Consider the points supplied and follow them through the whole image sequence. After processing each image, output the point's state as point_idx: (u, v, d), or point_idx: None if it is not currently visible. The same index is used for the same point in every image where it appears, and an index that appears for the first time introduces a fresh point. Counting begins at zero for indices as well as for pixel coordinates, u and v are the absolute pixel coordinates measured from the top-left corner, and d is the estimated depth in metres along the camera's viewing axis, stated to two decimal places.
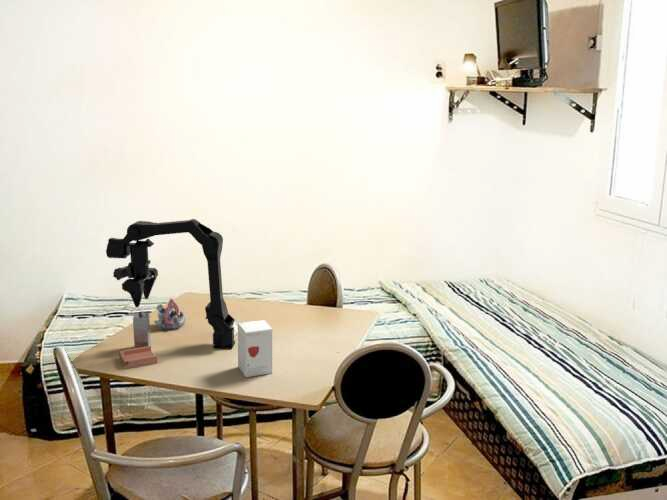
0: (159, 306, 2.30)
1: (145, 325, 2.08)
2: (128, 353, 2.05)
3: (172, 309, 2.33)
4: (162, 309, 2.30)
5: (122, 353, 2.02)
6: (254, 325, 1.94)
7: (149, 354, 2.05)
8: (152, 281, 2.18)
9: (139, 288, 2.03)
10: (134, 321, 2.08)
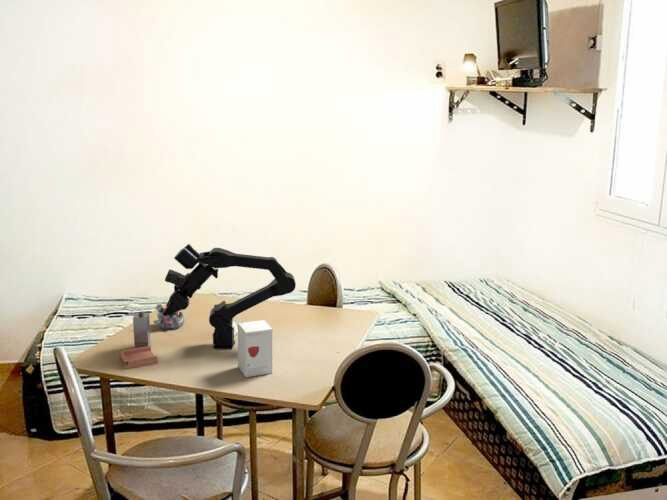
0: (158, 306, 2.30)
1: (145, 325, 2.08)
2: (128, 353, 2.05)
3: None
4: (161, 309, 2.31)
5: (122, 353, 2.02)
6: (254, 325, 1.94)
7: (149, 354, 2.05)
8: None
9: (185, 308, 2.02)
10: (134, 321, 2.08)
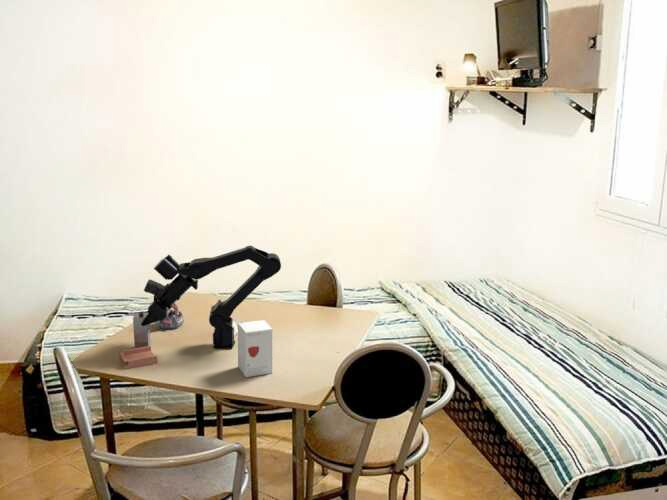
0: None
1: None
2: (128, 353, 2.05)
3: (171, 309, 2.34)
4: None
5: (122, 353, 2.02)
6: (254, 325, 1.94)
7: (149, 354, 2.05)
8: None
9: (163, 318, 2.02)
10: (134, 321, 2.08)
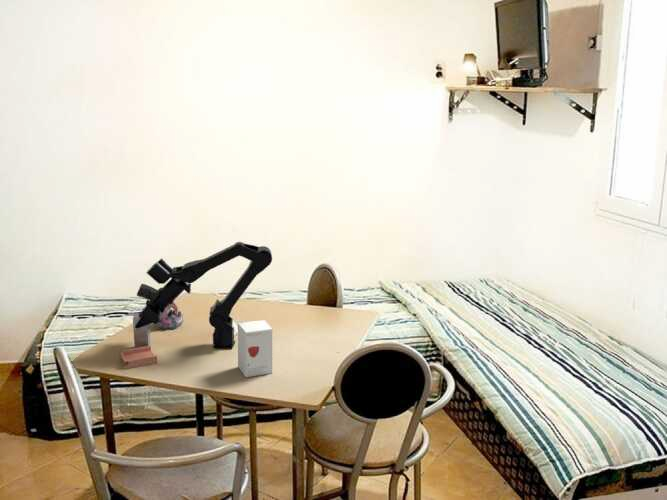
0: None
1: None
2: (128, 353, 2.05)
3: None
4: None
5: (122, 353, 2.02)
6: (254, 325, 1.94)
7: (149, 354, 2.05)
8: None
9: (156, 323, 2.02)
10: (134, 321, 2.08)
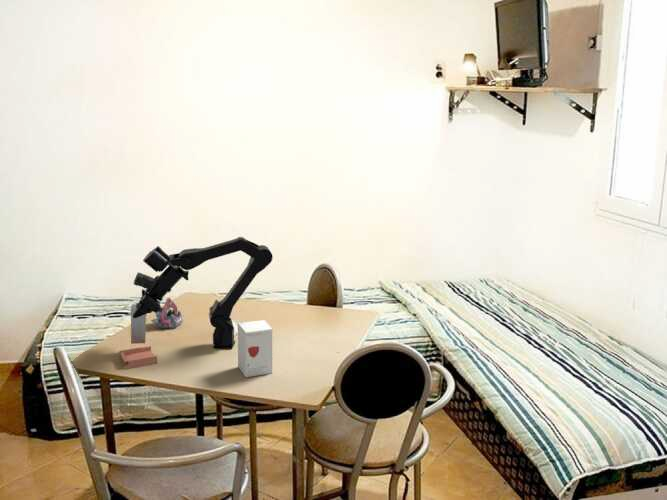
0: None
1: (143, 317, 2.05)
2: (128, 353, 2.05)
3: None
4: None
5: (122, 353, 2.02)
6: (254, 325, 1.94)
7: (149, 354, 2.05)
8: None
9: (156, 311, 1.99)
10: (132, 312, 2.03)
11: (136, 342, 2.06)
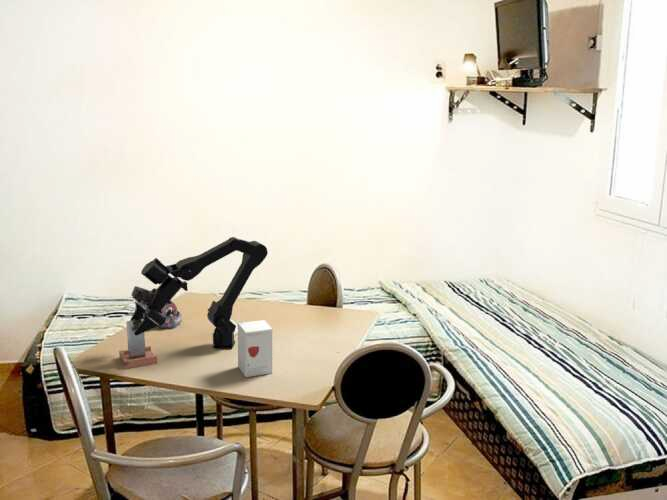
0: None
1: None
2: None
3: (169, 308, 2.34)
4: None
5: (122, 353, 2.02)
6: (254, 325, 1.94)
7: (149, 354, 2.05)
8: None
9: (162, 324, 1.95)
10: (131, 330, 1.97)
11: None
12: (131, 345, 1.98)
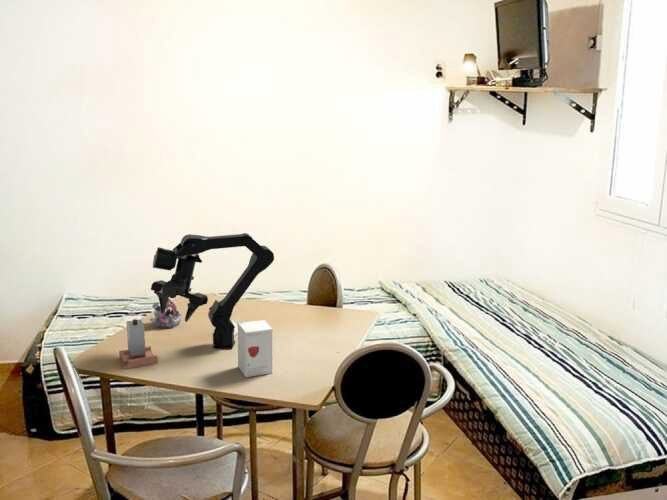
0: (155, 304, 2.32)
1: (142, 332, 1.99)
2: None
3: (168, 308, 2.35)
4: (158, 307, 2.32)
5: (122, 353, 2.02)
6: (254, 325, 1.94)
7: (149, 354, 2.05)
8: None
9: None
10: (131, 330, 1.97)
11: None
12: (131, 345, 1.98)
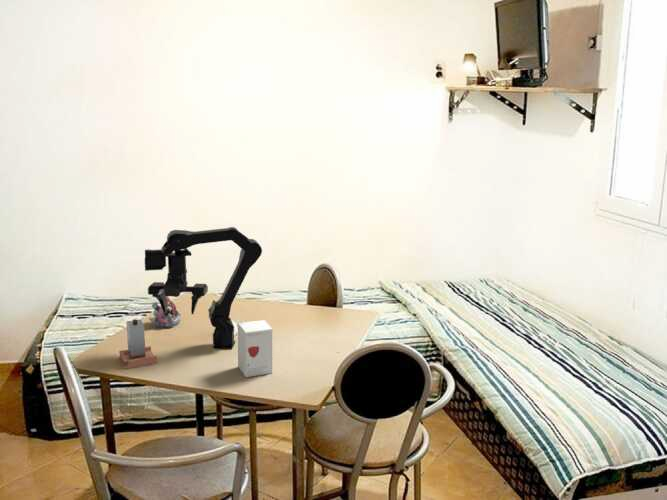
0: (154, 304, 2.32)
1: (142, 332, 1.99)
2: None
3: None
4: (157, 307, 2.33)
5: (122, 353, 2.02)
6: (254, 325, 1.94)
7: (149, 354, 2.05)
8: None
9: None
10: (131, 330, 1.97)
11: None
12: (131, 345, 1.98)
